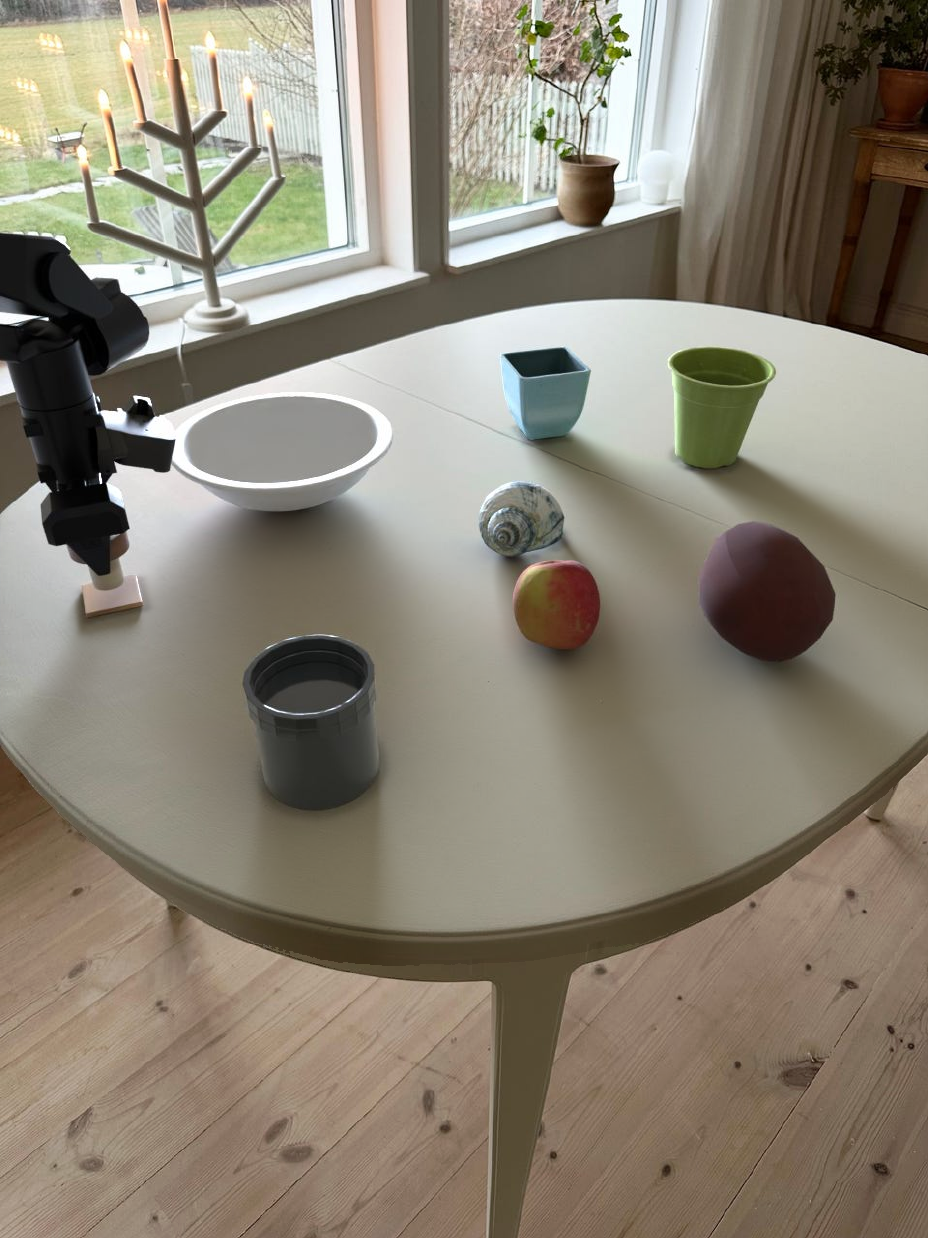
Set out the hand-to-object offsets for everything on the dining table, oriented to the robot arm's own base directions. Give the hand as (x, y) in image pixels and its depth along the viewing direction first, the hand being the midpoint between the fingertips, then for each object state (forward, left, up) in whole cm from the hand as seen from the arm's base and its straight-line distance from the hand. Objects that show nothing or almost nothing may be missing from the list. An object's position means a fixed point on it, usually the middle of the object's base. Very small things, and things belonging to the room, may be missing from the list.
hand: (101, 559), depth 84 cm
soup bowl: (+20, +14, -4) cm, 25 cm away
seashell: (+39, -6, -4) cm, 40 cm away
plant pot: (+68, +3, -4) cm, 69 cm away
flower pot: (+53, +17, -4) cm, 56 cm away
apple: (+35, -22, -4) cm, 42 cm away
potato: (+51, -29, -4) cm, 59 cm away
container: (+12, -29, -4) cm, 32 cm away
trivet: (0, 0, -4) cm, 4 cm away
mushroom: (0, 0, -3) cm, 3 cm away
